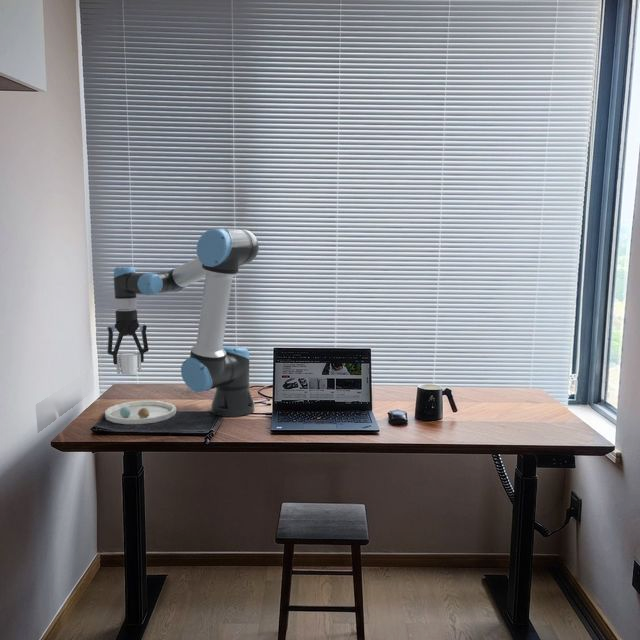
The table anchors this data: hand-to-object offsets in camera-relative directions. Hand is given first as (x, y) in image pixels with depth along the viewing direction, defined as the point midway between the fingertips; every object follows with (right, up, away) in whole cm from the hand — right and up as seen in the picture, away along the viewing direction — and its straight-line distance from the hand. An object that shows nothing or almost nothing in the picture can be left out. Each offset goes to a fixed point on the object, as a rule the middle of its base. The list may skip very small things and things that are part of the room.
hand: (129, 372), depth 233 cm
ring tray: (+9, -14, -16) cm, 23 cm away
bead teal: (+5, -14, -20) cm, 25 cm away
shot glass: (0, -1, 0) cm, 1 cm away
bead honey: (+11, -14, -21) cm, 28 cm away
